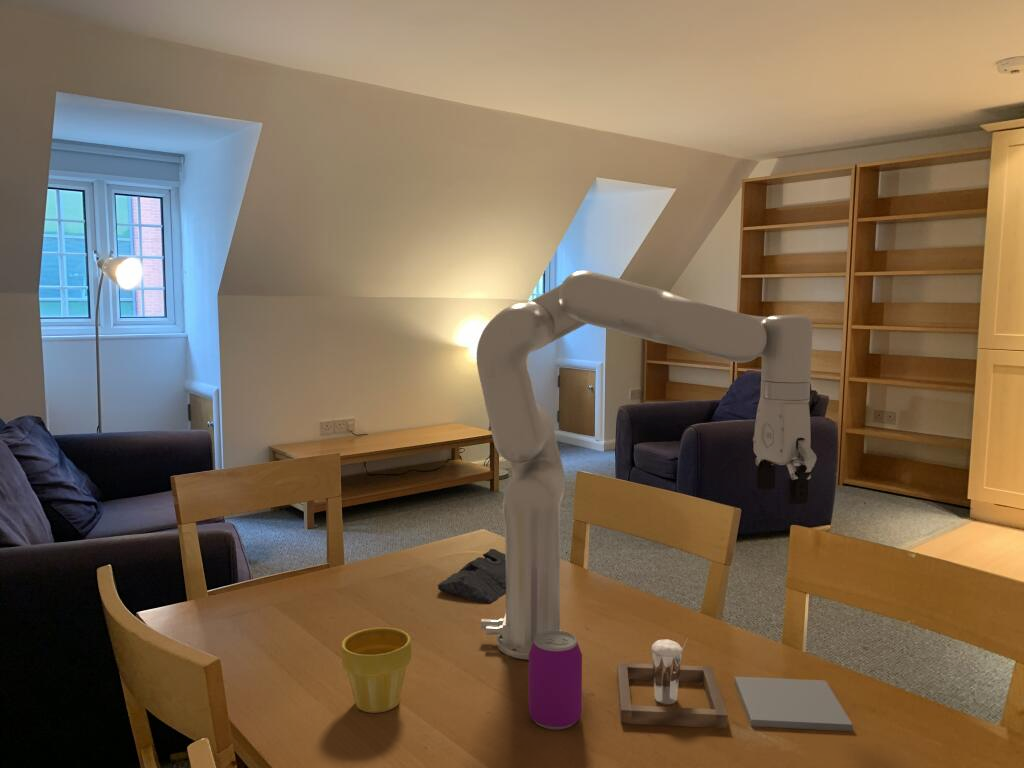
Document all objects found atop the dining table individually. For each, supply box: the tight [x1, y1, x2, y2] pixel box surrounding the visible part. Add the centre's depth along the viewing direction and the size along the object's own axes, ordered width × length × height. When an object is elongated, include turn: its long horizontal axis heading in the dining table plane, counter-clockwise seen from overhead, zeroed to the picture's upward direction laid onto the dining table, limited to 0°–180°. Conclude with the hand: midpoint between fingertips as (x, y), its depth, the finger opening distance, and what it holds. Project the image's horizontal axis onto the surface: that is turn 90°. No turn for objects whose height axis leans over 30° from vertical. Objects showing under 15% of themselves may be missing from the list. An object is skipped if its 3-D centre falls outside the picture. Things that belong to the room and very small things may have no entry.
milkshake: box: [651, 637, 689, 705], centre depth 120 cm, size 4×5×10 cm
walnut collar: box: [616, 662, 729, 729], centre depth 121 cm, size 15×15×2 cm
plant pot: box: [340, 627, 412, 714], centre depth 119 cm, size 10×10×10 cm
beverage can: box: [528, 630, 583, 730], centre depth 115 cm, size 8×8×12 cm
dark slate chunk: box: [437, 548, 506, 604], centre depth 170 cm, size 15×22×5 cm
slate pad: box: [734, 676, 854, 732], centre depth 119 cm, size 14×13×1 cm
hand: (780, 495), depth 129 cm, fingers open, 9 cm apart
